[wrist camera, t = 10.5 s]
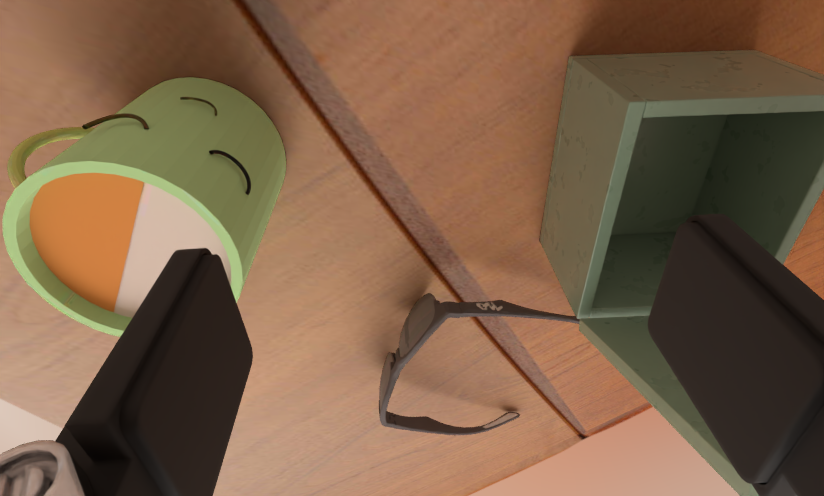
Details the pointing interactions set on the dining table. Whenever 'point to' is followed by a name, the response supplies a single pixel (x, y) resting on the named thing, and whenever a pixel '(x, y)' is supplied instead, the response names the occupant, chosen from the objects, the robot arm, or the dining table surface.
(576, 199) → the green storage bin
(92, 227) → the mug
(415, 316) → the sunglasses
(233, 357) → the robot arm
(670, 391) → the bin lid
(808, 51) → the dining table surface
